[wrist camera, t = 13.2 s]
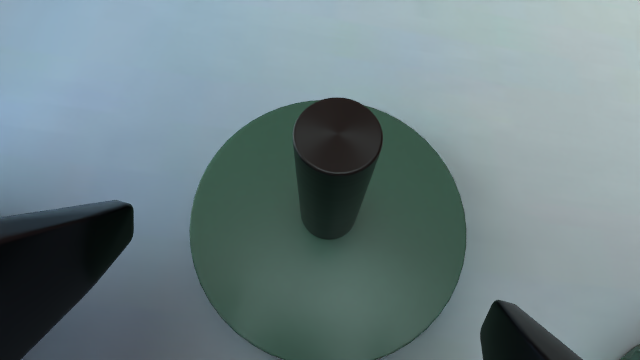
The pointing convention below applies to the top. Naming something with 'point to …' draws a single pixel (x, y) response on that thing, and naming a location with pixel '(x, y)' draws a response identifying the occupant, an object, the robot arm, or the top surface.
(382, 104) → the top surface
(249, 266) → the lid
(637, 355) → the pot
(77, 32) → the top surface
